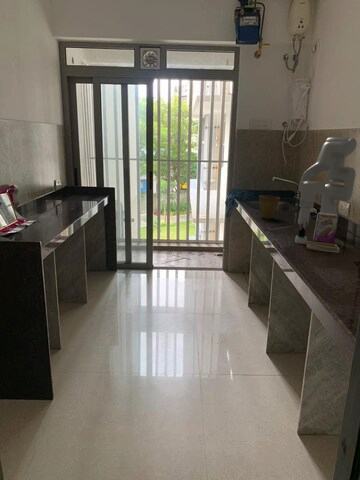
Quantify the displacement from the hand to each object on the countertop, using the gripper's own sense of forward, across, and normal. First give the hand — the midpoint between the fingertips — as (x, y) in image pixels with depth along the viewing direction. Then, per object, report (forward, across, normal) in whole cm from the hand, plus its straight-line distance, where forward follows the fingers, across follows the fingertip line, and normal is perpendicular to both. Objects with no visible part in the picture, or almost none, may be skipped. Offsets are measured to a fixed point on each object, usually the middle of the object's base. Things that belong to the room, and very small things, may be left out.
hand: (301, 236), depth 203 cm
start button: (+3, 0, 0) cm, 3 cm away
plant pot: (+4, -65, -19) cm, 68 cm away
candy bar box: (+4, -9, +14) cm, 17 cm away
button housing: (+4, 0, 0) cm, 4 cm away
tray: (+4, +8, +11) cm, 14 cm away
